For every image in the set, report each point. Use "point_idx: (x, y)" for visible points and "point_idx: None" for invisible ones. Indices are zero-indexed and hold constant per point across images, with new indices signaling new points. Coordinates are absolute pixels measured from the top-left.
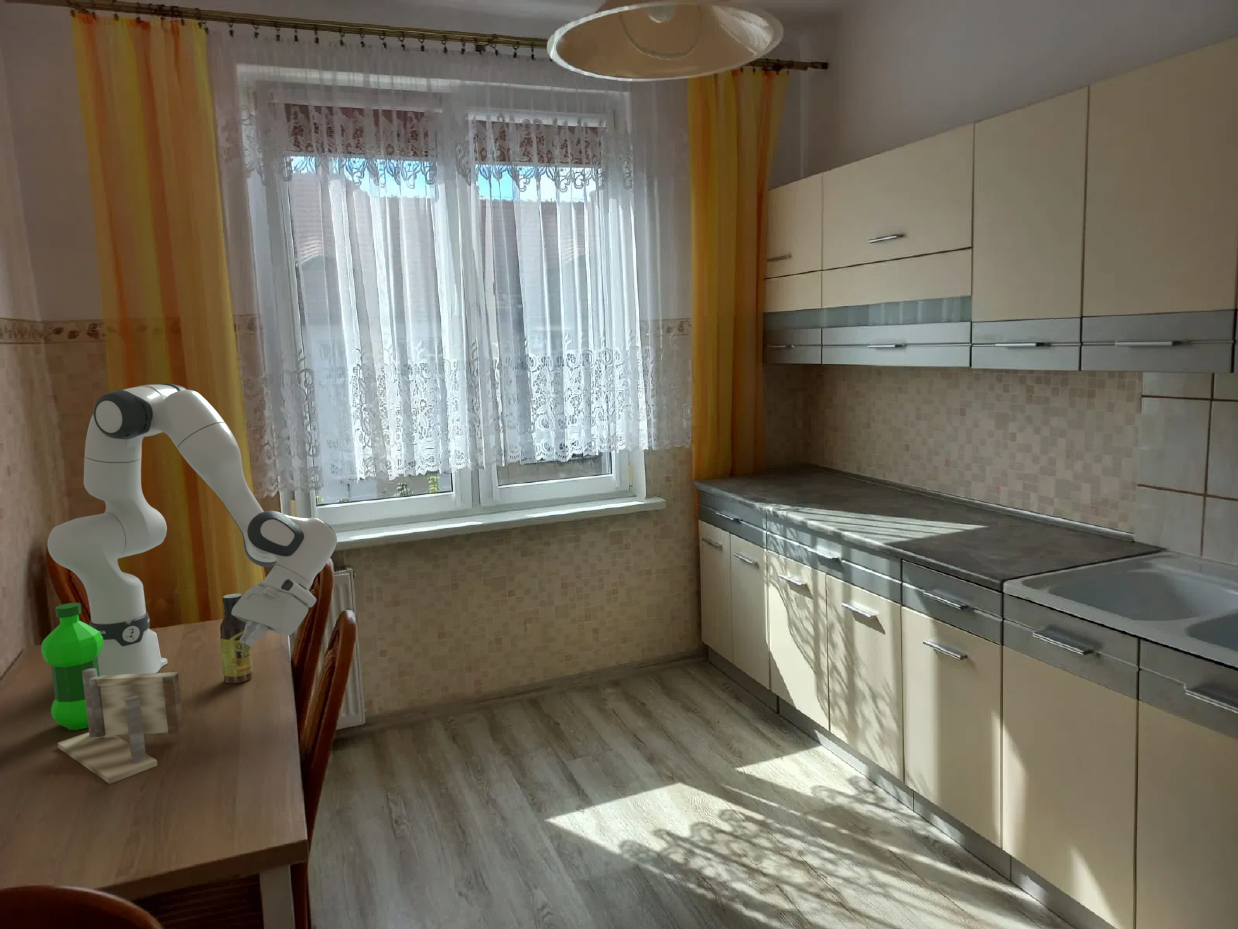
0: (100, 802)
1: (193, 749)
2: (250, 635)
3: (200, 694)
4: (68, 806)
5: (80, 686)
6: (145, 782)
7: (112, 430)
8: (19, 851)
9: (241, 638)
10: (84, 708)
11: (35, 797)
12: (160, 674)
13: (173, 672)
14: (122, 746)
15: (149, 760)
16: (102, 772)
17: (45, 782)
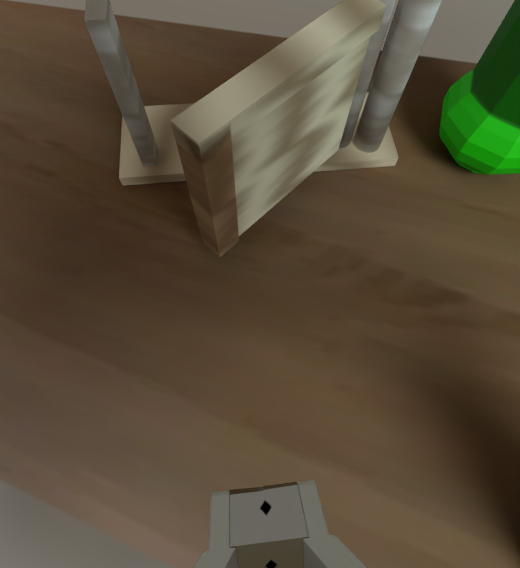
0: (71, 93)
1: (133, 257)
2: (218, 551)
3: (508, 402)
4: None
5: (494, 51)
6: (72, 153)
7: None
8: (31, 10)
9: (302, 494)
10: (451, 104)
11: (186, 46)
12: (230, 100)
13: (209, 132)
14: None
15: (133, 169)
16: (160, 107)
17: (231, 63)
